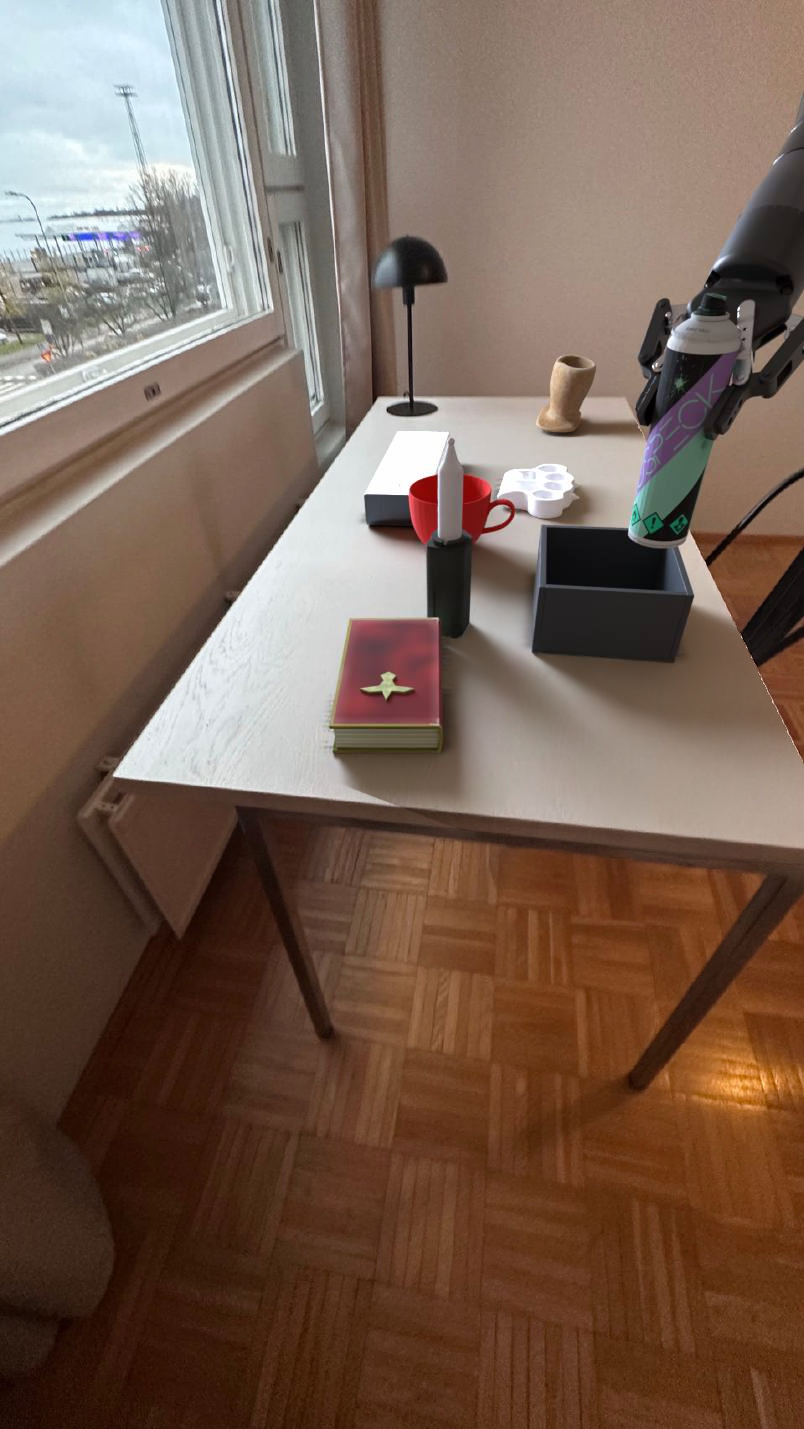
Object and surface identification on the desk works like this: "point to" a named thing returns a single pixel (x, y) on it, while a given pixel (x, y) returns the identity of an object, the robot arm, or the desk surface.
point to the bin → (608, 595)
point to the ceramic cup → (473, 507)
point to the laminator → (403, 475)
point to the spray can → (683, 424)
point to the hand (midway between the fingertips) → (674, 427)
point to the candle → (449, 553)
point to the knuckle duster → (539, 490)
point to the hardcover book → (390, 687)
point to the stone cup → (567, 393)
